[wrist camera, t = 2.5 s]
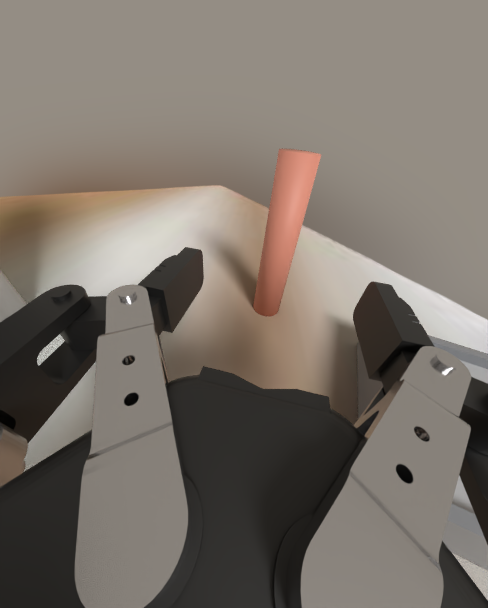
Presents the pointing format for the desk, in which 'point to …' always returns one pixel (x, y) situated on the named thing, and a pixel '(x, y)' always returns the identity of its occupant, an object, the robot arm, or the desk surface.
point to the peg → (284, 225)
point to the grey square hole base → (462, 520)
